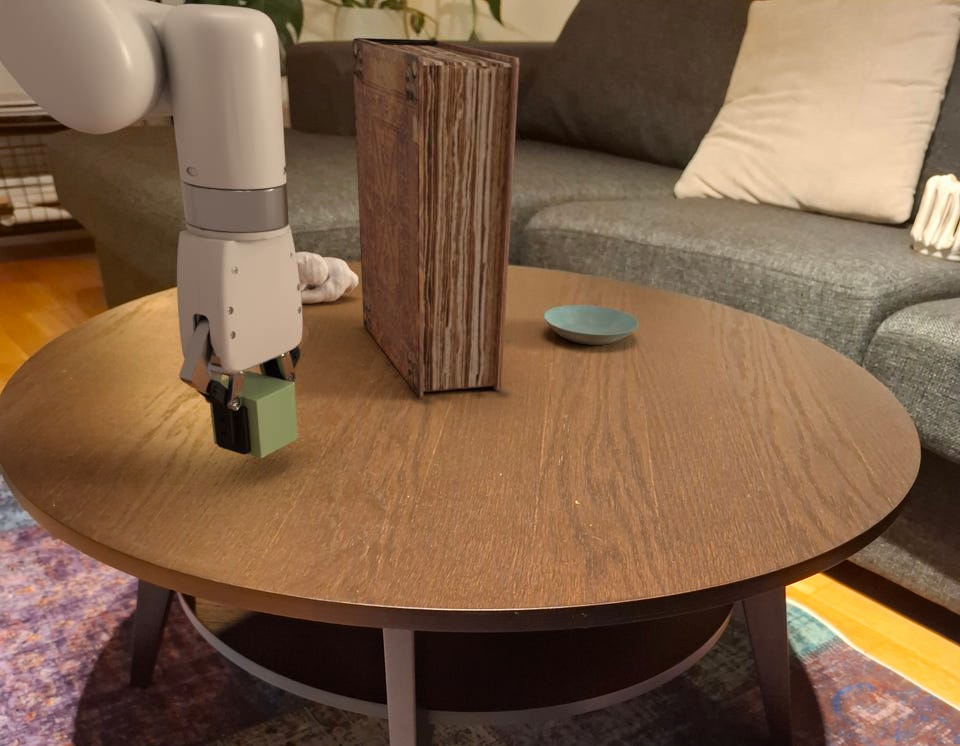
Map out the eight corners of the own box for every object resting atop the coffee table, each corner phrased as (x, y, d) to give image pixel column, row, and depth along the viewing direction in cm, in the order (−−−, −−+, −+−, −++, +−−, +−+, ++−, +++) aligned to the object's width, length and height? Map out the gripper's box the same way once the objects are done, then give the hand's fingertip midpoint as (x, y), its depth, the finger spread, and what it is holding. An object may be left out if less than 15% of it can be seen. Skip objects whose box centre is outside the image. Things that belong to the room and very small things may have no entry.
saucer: (646, 331, 115) (648, 313, 114) (622, 358, 106) (625, 339, 105) (558, 317, 119) (560, 299, 117) (528, 342, 110) (530, 323, 108)
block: (214, 444, 77) (207, 387, 74) (252, 425, 80) (247, 370, 77) (261, 458, 75) (256, 400, 72) (297, 438, 78) (294, 382, 76)
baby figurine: (365, 298, 123) (358, 254, 115) (292, 343, 120) (280, 301, 112) (328, 257, 125) (319, 210, 117) (256, 300, 122) (241, 255, 114)
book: (501, 392, 96) (520, 58, 78) (418, 400, 93) (418, 55, 75) (433, 321, 115) (436, 40, 97) (362, 325, 112) (352, 37, 95)
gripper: (268, 186, 74) (282, 399, 85) (111, 217, 62) (150, 462, 72) (344, 200, 72) (349, 417, 82) (196, 235, 59) (224, 486, 70)
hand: (256, 436), depth 77 cm, fingers closed on block, 5 cm apart
